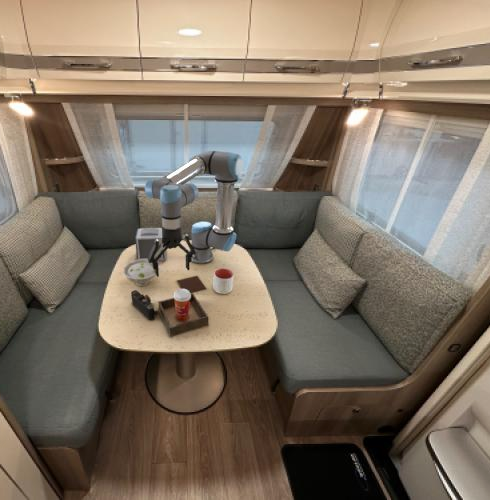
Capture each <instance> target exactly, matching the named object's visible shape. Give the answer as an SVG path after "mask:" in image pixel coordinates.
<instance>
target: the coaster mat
mask: <svg viewBox="0 0 490 500" xmlns="http://www.w3.org/2000/svg"><path fill="white" fill-rule="evenodd" d="M177 284H178V285H179V287H180V289H187V290H188V291H189V292H190V294H191V293H196V292H200V291H203V290H206V289H207V288H206V286H205V284H204V283H203V282H202V280H201V279H200V277H199V276H198V275H195V276H190V277H186V278H181V279H177Z"/></svg>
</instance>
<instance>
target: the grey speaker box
mask: <svg viewBox="0 0 490 500" xmlns="http://www.w3.org/2000/svg"><path fill="white" fill-rule="evenodd" d="M154 239H157V240H161V239H162V227H145V228H143V227H142V228H141V227H140V228H137V230H136V232H135V237H134V243H135V253H136V254H135V260H140V259H148V256H149V254H150V252H151V250H152V247H153V245H154ZM162 244H163V243H160V245H159V247H158V249H157V252H158V250H159V249H160V248H161V245H162ZM157 252H156V253H157ZM166 261H167V250H166V251H165V252H164V253H163V254H162V256H161V257H160V258H159V260H158V262H166Z"/></svg>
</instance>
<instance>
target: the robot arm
mask: <svg viewBox="0 0 490 500" xmlns="http://www.w3.org/2000/svg"><path fill="white" fill-rule="evenodd" d="M243 172H244V160H243V158H242V156H241V154H239V153H234V152H229V151H218V150H216V151H215V150H207V151H203V152H201V153H197V154H195V155H194V156H192V157H191V158H190V159H189V160H188V162H187V163H184V164H182V165H181V166H179V167H177V168H176V169H174V170H173V171H171V172H169V173H167V174H165V175H164V176H162V177H161V178H159V179H156V178H150V179H148V180H146V182H145V185H144V192H145V195H146V196H147V197H149V198H153V199H157V200H160V211H161V214H160V215H161V228H162V239H161V240H157V239H154V245H153V247H152V250H151V252H150V254H149V256H148V259H147V260H148V262H149V263H152V266H153V269H154V270H155V274H156V276H155V277H156V278H158V277H160V272H159V271H160V269H159V270H158V265H159V258H160V257H161V256H162V254H163V253H164V252H165V251H166V252H167V251H168V249H169V250H172V249H177V247H178V248H179V249H181V250H182V251H183V252H184V253H185V269H186V270H187V271H190V268H191V267H190V265H191V263H193V264H196V265H197V264H199V265H203V264H208V263H210V262H212V261H213V258H214V255H213V252H212V251H213V250H219V251H221V252H230V251H231V250H232V249H233V247H234V246H235V243H236V240H237V237H238V236H237V233H236V232H235V231H234V227H233V225H232V220H233V219H232V217H233V205H234V193H235V185H236V184H237V183H238V181H239V180H240V179H241V178H242V177H243ZM202 175H210V176H214V181H215V182H216V183H217V189H216V191H217V192H216V208H215V209H216V210H215V224H214V225H213V224H212V223H211V222H210V221H199V222H195V223H193V225H192V226H191V231H190V232H191V241H190V237H189V235H188V233H184V234H183V235H182V208H184V207H186V206H188V205H190V204H192V203H194V201H196V200H197V199H198V197H199V194H200V193H199V188H198V186H196V184H194V183H192V182H190V181H191V180H193V179H195V178H196V177H201V176H202ZM182 241H184V242H185V243H186V245H187V247H188V248H189V249H187V248H186V247H185V246H184V245H183V244H182V243H181V242H182ZM160 243H163V244H162V245H161V248H160V249H159V250H158V252H157V249H158V247H159V245H160ZM156 252H157V253H156Z"/></svg>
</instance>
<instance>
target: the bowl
mask: <svg viewBox="0 0 490 500" xmlns="http://www.w3.org/2000/svg"><path fill="white" fill-rule="evenodd" d="M159 266H160V265H159V264H158V270H159V271H160V267H159ZM122 274H123V275H124V276H125V277H126V278H127V280H129V281H130V282H132V283H134V284H136V286H139V287H145V286H147V285H149V283H150V282H151V281H152V280H154V278H155V277H157V276H156V274H155V270H154V269H153V266H152V263H149V262H148V260H147V259H140V260H136V259H134V260H132V261H130V262H129V261H128V262H127V263H126V264H125V265H124V267H123V268H122Z"/></svg>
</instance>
